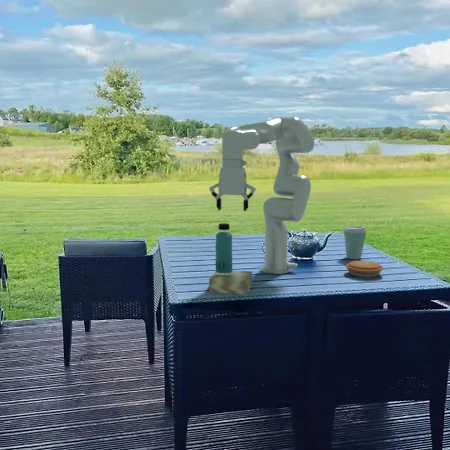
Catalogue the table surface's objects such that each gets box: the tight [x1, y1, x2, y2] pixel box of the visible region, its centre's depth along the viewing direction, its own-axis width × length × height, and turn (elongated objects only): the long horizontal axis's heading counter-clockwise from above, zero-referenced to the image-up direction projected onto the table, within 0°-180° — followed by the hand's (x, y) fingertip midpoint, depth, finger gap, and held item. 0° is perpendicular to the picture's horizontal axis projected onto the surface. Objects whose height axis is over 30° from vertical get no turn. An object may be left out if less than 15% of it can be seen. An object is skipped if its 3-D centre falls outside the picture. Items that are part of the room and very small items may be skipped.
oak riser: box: [208, 270, 253, 295], centre depth 212 cm, size 14×14×5 cm
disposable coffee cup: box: [343, 225, 367, 260], centre depth 263 cm, size 11×11×15 cm
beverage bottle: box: [214, 222, 233, 274], centre depth 209 cm, size 6×7×20 cm
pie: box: [344, 260, 384, 279], centre depth 233 cm, size 16×16×5 cm
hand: (232, 210), depth 207 cm, fingers open, 9 cm apart
